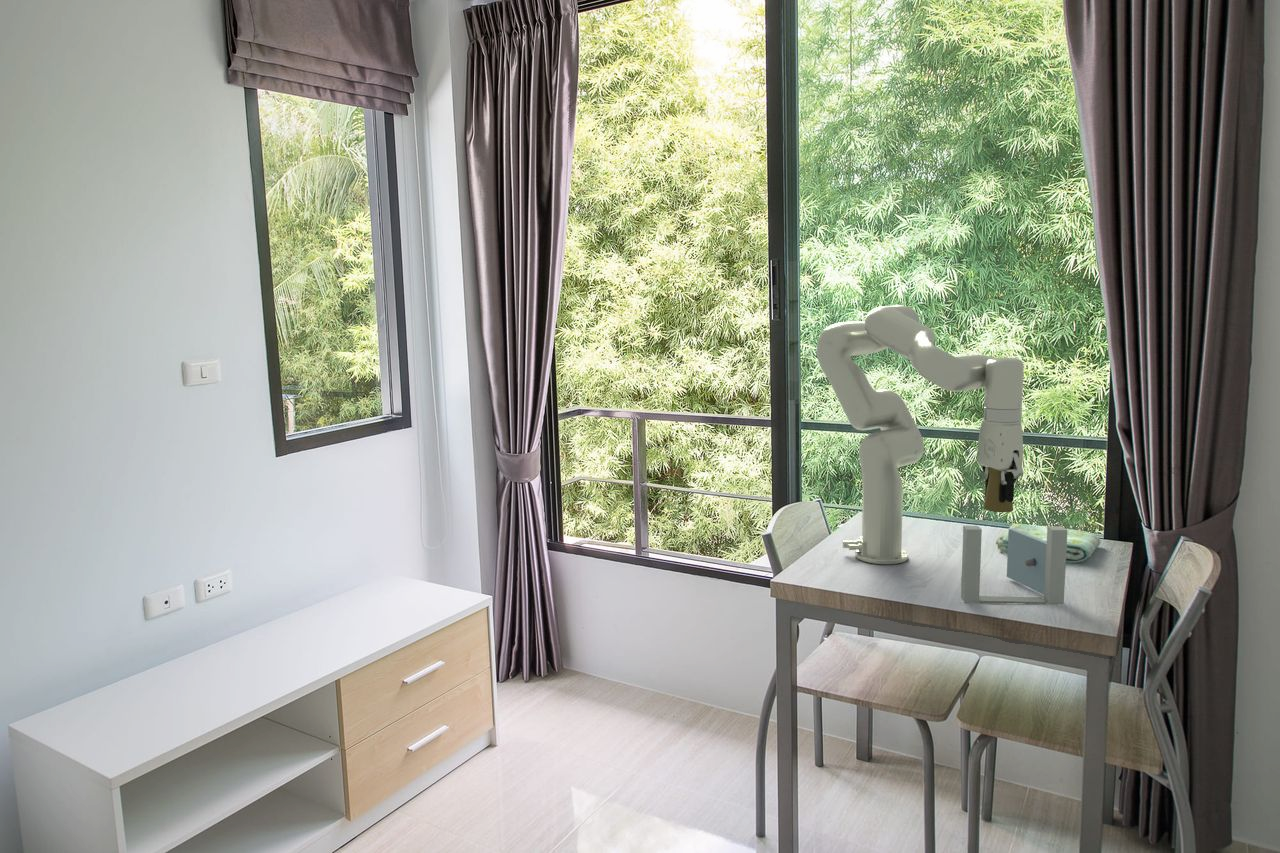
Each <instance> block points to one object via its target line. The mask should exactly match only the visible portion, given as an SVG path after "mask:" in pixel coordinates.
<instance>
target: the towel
mask: <svg viewBox="0 0 1280 853" xmlns="http://www.w3.org/2000/svg"><path fill="white" fill-rule="evenodd" d="M1047 526H1048V525H1034V524H1025V523H1013V524H1011V526H1010V527H1009V528H1008V529H1007V530H1006V531H1004V532H1003V533H1002V534H1001V535H1000V536H998V538H997V539H996V541H995V544H996V545H997V550H998V551H1000V552H1001V553H1002V554H1005V553H1008V533H1009V529H1011V528H1014V529H1016V530H1019V531H1021V532H1024V533H1026V534H1029V535H1031V536H1034V537H1036V538H1039V539H1041V540H1044V541H1046V542H1047ZM1066 529H1067V530H1068V531H1067V550H1066V564H1076V563H1077V564H1078V563H1082V562H1085V561H1086V560H1088V559H1089V558H1090V557H1091V556H1092V554H1093V553H1094V552H1095V551H1096V549H1097V548H1099V546H1100V544H1101V539H1100V537H1099V536H1097V534H1094V533H1092V532H1089V531H1086V530H1080V529H1072V528H1066Z"/></svg>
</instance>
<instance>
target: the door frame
mask: <svg viewBox="0 0 1280 853" xmlns="http://www.w3.org/2000/svg"><path fill="white" fill-rule="evenodd" d="M1046 526H1047V545H1046V566H1045V587H1044V595H1043V597H1041V596H1003V595H997V596H996V595H993V596H991V595H980V591H981V590H980V589H981V586H980V585H981V563H982V562H981V558H982V557H981V556H982V536H983V535H982V532H983V530H982V528H981V527H980V526H979V525H963V527H962V556H961V557H962V558H961V562H962V563H961V584H960V585H961V588H960V589H961V591H960V599H961V600H962V602H963V601H964V602H963V603H964V604H1001V603H1003V604H1004V603H1025V604H1024V605H1047V604H1048V605H1058V604H1065V603H1064V602H1065V588H1066V587H1065V586H1066V567H1067V563H1066V550H1067V531H1068V530H1067V529H1068V528H1065V527H1064V526H1062V525H1061V526H1060V525H1059V526H1056V525H1053V526H1052V525H1049V526H1048V525H1046ZM1046 601H1047V602H1046Z"/></svg>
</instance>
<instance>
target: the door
mask: <svg viewBox="0 0 1280 853" xmlns="http://www.w3.org/2000/svg"><path fill="white" fill-rule="evenodd" d="M1008 529H1009V528H1008ZM1046 545H1047V542H1046V541H1044V540H1041V539H1039V538H1036V537H1034V536H1031V535H1029V534H1026V533H1024V532H1021V531H1019V530H1016V529H1014V528H1011V529H1009V533H1008V554H1007V558H1006V562H1007V563H1006V578H1008V579H1011V580H1012V581H1015V582H1017V583H1019V584H1021V585H1023V586H1025V587H1027V588H1028V589H1031V590H1033V591H1035V592H1037V593H1039V594H1041V595H1043V596H1044V587H1045V566H1046Z"/></svg>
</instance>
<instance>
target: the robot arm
mask: <svg viewBox="0 0 1280 853" xmlns="http://www.w3.org/2000/svg"><path fill="white" fill-rule="evenodd" d="M935 341H936V334H935V332H934V330H933V329H932V328H930V327H929V326H927V325H925V324H923V323H921V319H920V316H919V314H918V313H917V311H915V309H913V308H912V307H909V306H908V305H884V306H878V307H876V308H873V309H872V310H870V311H869V312H868V313H867V314H866V316H865V318H864V320H862V321H860V320H859V321H847V322H845V321H844V322H837V323H833V324H830V325H829V326H827V327H826V328H824V329H823V331H821V333H820V335H819V337H818V340H817V344H816V357H817V361H818V364H819V367H820V369H821V370H822V372H823V374H824V376H825V377H826V379H827V380H828V382H829V383H830V385H831V386H832V389H833V391H834V393H835V396H836V398H837V399H838V402H839V404H840V405H841V408H842V409H843V410H842V411H843V412H844V414H845V416H846V418H847V421H848V422H849V423H850V425H851V426H852V427H853V428H854V429H855V430H857V431H869V430H870V431H871V430H875V429H876V430H877V429H880V430H878V431H875V432H872V433H870V434H868V435H867V436H865V437H864V438H862V441H861V442H860V445H859V447H858V457H859V458H858V459H859V463H860V468H861V478H862V479H861V480H862V483H861V484H862V491H861V492H862V511H861V512H862V514H861V516H862V517H861V518H862V520H861V521H862V522H861V527H862V528H861V535H860V536H859V539H855V540H845V539H843V540H842V548H843V549H848V551H855V552H854V555H855V556H854V557H856V559H858V560H860V561H862V562H865V563H869V564H877V565H894V564H900V563H904V562H906V561H908V559H909V554H908V551H906V550H904V549H902V546H903V545H902V544H903V508H904V507H903V504H904V503H903V499H904V497H903V496H904V495H903V494H904V489H903V488H904V486H903V482H902V479H901V475H900V473H899V470H898V468H901V467H905V466H910V465H913V464H916V463H917V462H918V461H920V460H921V458H922V457H923V455H924V453H925V443H924V439H923V436H922V434H921V432H920V430H919V428H918V426H917V424H916V422H915V420H914V418H913V417H912V414H911V412H910V410H909V408H908V406H907V405H906V402H905V401H904V400H903V398H902V397H901V396H900V395H899V394H898V393H897V392H895V391H893V390H891V389H876V390H875V389H874V388H873V387H872V385H871V384H870V382H869V380H868V378H867V375H866V374H865V373H864V372H865V371H863V370H862V368H861V367H860V366H859V365H857V363H855V362H854V361H853V359H852V357H853V356H854V357H855V356H865V355H872V354H875V353H879V352H883V351H884V350H887V349H889V350H891V351H893V352H894V353H896V354H898V355H900V356H902V357H903V358H905V359H907V360H908V361H910V363H911V365H912V367H913V369H915V372H917V374H919V376H921V377H922V378H924V379H925V380H927V381H929V382H930V383H932V384H934V385H936V386H938V387H940V388H941V389H943V390H946V391H949V392H952V393H953V392H954V393H959V392H960V393H961V392H965V391H966V392H967V391H973V390H981V389H984V397H983V398H984V399H983V401H984V402H983V419H982V421H981V424H980V428H979V434H978V442H977V453H976V460H977V463H978V464H979V465H980V466H981V468H982V471H983V473H984V475H983V478H984V480H985V488H984V489H985V493H984V495H985V497H986V491H987V486H988V480H989V475H990V473H989V472H988V469H987V467H990V468H993V469H995V470H999V471H1001V481H1002V484H1000V485H999V502H1001V503H1003V502H1005V500H1007V501H1008V502H1014V498H1015V497H1014V496H1015V495H1014V494H1015V485H1016V483H1017V480H1018V479H1019V478H1020V477H1022V476H1023V475H1024V469H1023V461H1024V437H1023V436H1024V435H1023V427H1022V419H1023V418H1022V415H1023V413H1022V411H1023V393H1024V392H1023V390H1024V388H1023V387H1024V363H1023V361H1022V360H1021V359H1020V358H1016V357H1014V358H1013V357H993V356H989V355H984V354H973V355H962V356H954V355H952V354H949V353H948V352H946V351H944V350H943V349H940V348H939V347H937V346H936V345H935ZM1010 466H1011V469H1009V467H1010ZM1006 472H1010V474H1009V475H1008V476H1007V474H1006Z"/></svg>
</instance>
